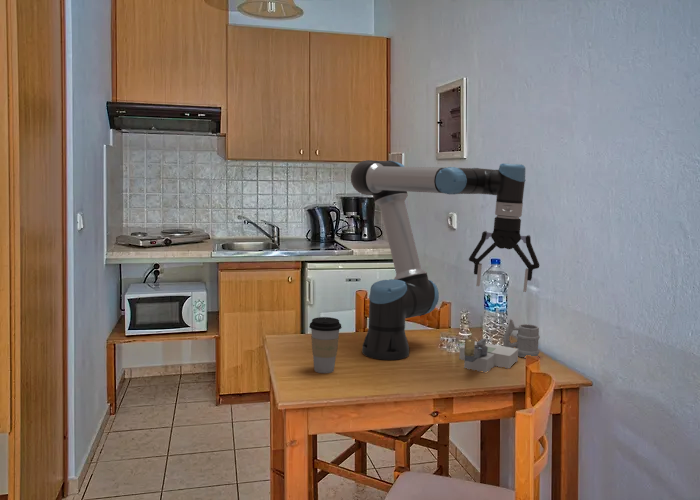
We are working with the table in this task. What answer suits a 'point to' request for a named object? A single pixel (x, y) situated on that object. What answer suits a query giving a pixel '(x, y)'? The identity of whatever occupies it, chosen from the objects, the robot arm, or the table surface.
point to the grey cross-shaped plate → (497, 354)
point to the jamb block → (481, 362)
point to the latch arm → (473, 350)
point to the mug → (523, 339)
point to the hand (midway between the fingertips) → (501, 288)
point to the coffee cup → (324, 343)
